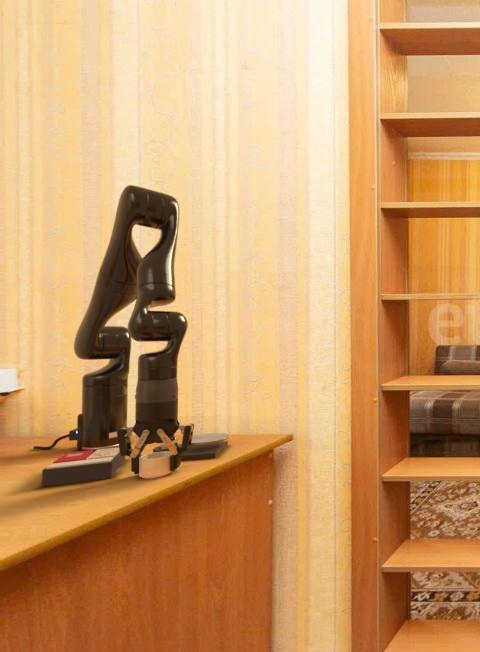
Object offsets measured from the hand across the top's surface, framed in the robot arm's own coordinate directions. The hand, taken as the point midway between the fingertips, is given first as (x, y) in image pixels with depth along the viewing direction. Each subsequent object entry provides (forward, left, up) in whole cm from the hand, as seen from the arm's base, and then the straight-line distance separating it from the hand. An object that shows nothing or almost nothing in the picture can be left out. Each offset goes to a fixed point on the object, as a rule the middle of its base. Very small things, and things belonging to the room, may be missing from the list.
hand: (156, 471), depth 99 cm
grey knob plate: (+2, +16, -1) cm, 16 cm away
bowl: (0, 0, -1) cm, 1 cm away
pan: (+5, +18, +2) cm, 19 cm away
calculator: (-15, +6, -1) cm, 16 cm away
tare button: (-2, +13, +2) cm, 13 cm away
